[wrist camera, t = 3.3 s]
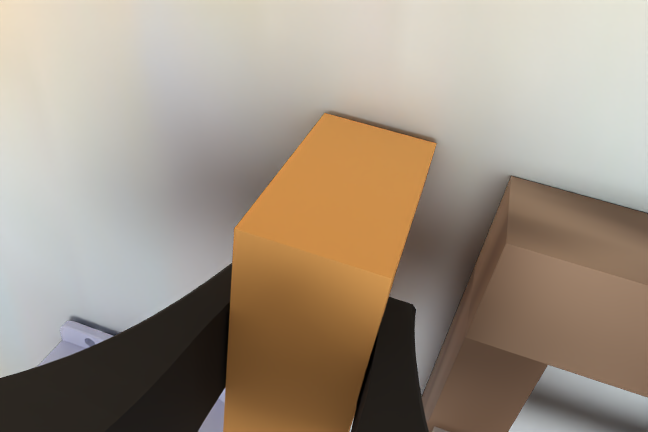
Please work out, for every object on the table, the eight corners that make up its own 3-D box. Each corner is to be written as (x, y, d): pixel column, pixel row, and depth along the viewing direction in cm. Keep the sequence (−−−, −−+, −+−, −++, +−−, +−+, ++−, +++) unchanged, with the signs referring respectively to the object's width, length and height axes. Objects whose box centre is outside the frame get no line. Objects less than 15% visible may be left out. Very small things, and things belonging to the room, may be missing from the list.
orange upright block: (295, 301, 19) (222, 441, 14) (324, 112, 14) (234, 228, 10) (381, 330, 18) (332, 483, 14) (436, 143, 14) (392, 278, 10)
